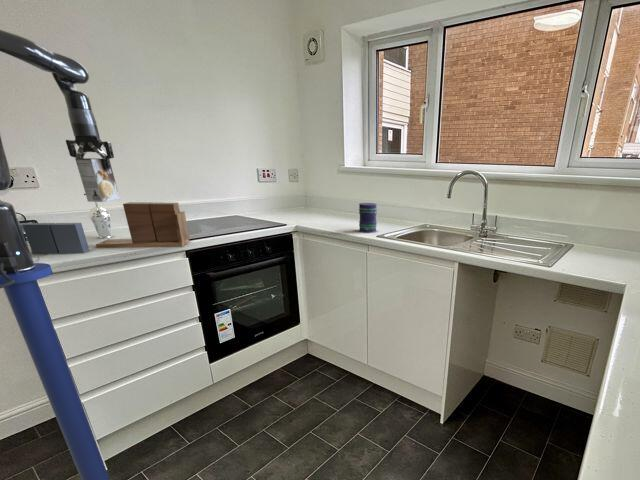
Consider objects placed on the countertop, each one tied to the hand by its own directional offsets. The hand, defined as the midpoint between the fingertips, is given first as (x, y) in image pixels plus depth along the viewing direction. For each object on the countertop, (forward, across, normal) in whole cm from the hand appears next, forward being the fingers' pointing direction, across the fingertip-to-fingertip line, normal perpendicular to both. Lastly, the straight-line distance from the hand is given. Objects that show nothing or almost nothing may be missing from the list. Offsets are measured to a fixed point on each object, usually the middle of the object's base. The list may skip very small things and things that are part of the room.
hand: (96, 169), depth 138 cm
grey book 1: (+30, -18, -11) cm, 37 cm away
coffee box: (+12, 0, 0) cm, 12 cm away
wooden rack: (+30, +10, +1) cm, 32 cm away
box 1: (+29, +11, +1) cm, 31 cm away
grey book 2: (+30, -10, -11) cm, 34 cm away
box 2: (+29, +21, +1) cm, 36 cm away
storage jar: (+31, +112, +28) cm, 120 cm away
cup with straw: (+31, -13, +18) cm, 38 cm away
